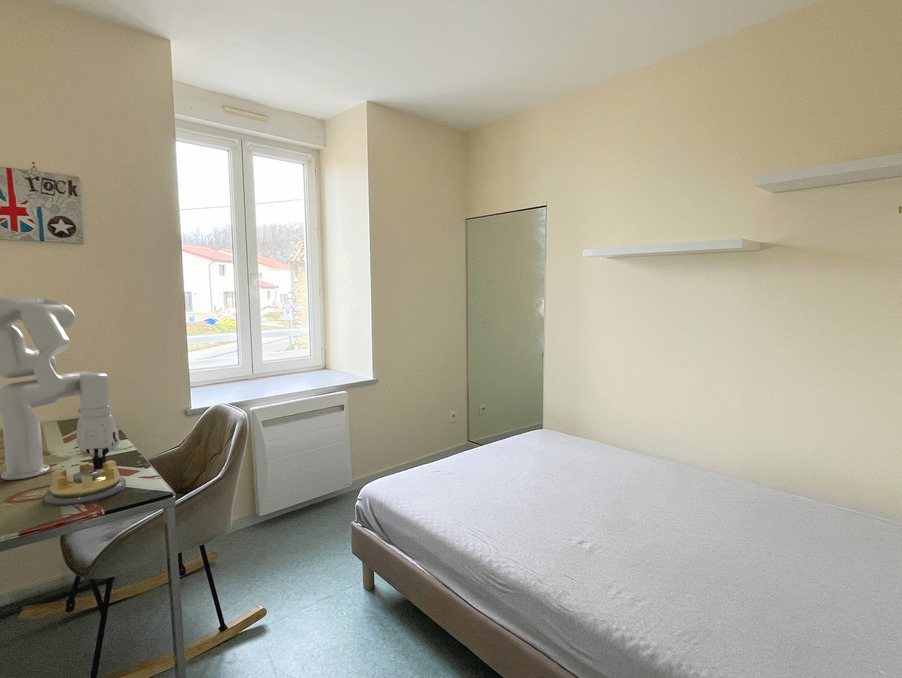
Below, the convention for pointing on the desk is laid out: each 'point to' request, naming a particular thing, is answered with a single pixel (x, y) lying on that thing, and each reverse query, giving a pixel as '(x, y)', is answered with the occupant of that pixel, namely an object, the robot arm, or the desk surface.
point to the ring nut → (84, 481)
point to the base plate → (85, 499)
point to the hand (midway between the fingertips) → (99, 468)
